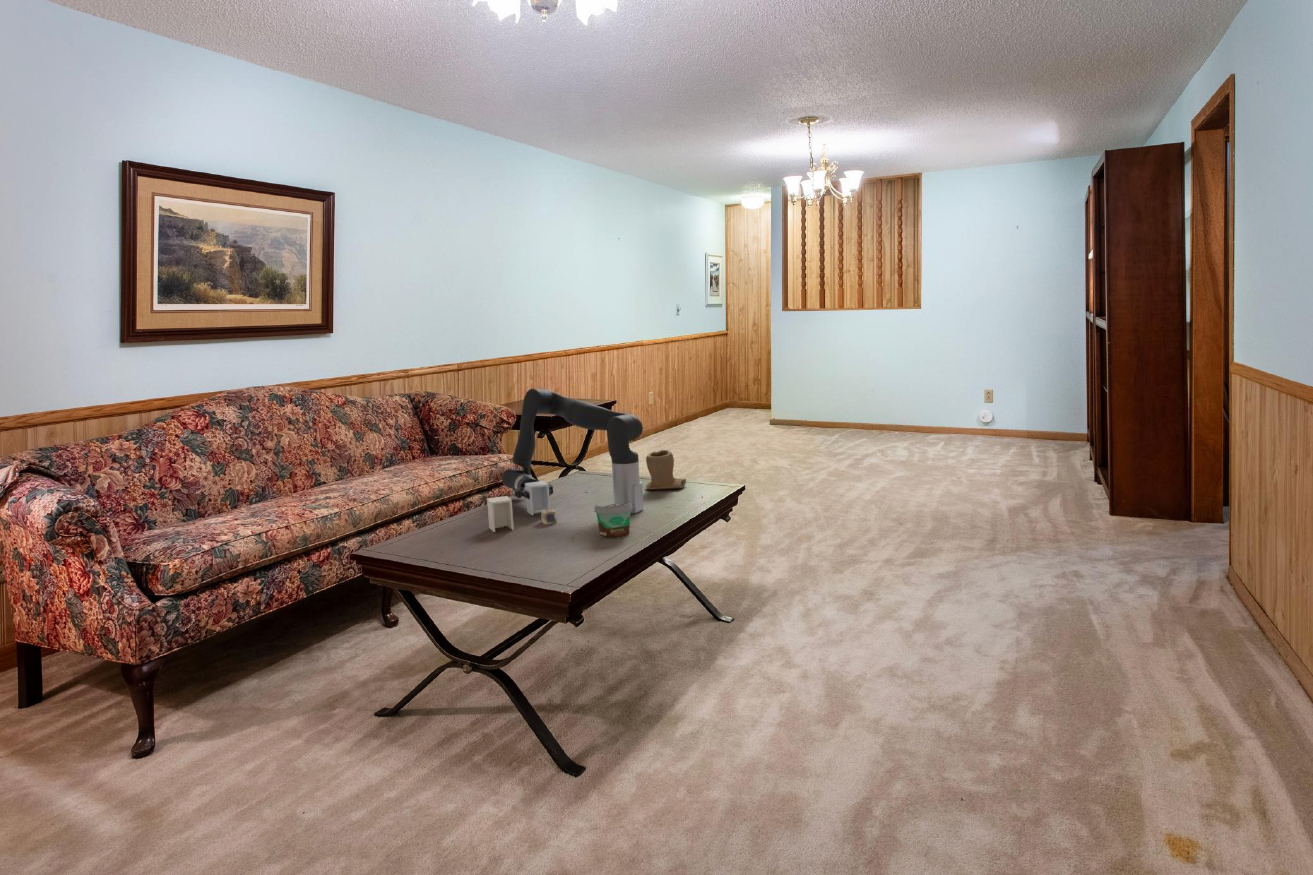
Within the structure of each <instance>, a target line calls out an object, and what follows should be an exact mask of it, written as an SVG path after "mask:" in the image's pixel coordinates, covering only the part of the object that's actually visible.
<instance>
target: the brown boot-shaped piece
mask: <svg viewBox="0 0 1313 875" xmlns="http://www.w3.org/2000/svg"><path fill="white" fill-rule="evenodd" d="M645 463H646V467H647V470H648V472H649V475H650V478H651V481H650V482H648V483H647V484H646V485H645V487H646V489H648V490H678V489H683V488H684V487H685V486H686V484H687V479H686V478H675V477H674V475H673V474H674V466H675V458H674V454H673V453H672V451H671V450H668V449H661V450H658V451H652V452H650V453H648V454H647V455H646V457H645Z"/></svg>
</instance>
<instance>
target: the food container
mask: <svg viewBox="0 0 1313 875" xmlns="http://www.w3.org/2000/svg"><path fill="white" fill-rule="evenodd" d="M631 509H632V504H631V502H630V500H628V503H624V504H614V503H612V504H609V505H606V506H602V505H595V507H594V513H596V517H597V524H598V532H599V537H600V536H602V537H601V538H603V537H605V539H619V538H618V537H620V538H624V537H623V536H625V537H627V536H629V535H630V528H631V527H630V524H631V513H630V510H631Z"/></svg>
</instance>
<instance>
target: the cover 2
mask: <svg viewBox="0 0 1313 875" xmlns="http://www.w3.org/2000/svg"><path fill="white" fill-rule="evenodd" d="M549 484H550V483H548V482H546V481H544V480H540V481H539V480H538V482H531V483H525V490H526V491H527V492H529V494H530V499H527V498H525V501H526V502H525V503H526V505H525V506H526V512H527V513H528V514H529V515H531V516H534V511H535V512H536V511H542V510H549V509H551V499H550V497H551V496H549Z"/></svg>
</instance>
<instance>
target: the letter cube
mask: <svg viewBox="0 0 1313 875" xmlns="http://www.w3.org/2000/svg"><path fill="white" fill-rule="evenodd" d="M540 514H541V515H540V516H541V522H542V524H544V525H545V524H546V525H552V524H557V520H558V519H557V511H556V510H555V509H554V508H552V509H551V508H550V509H549V510H540Z"/></svg>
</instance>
